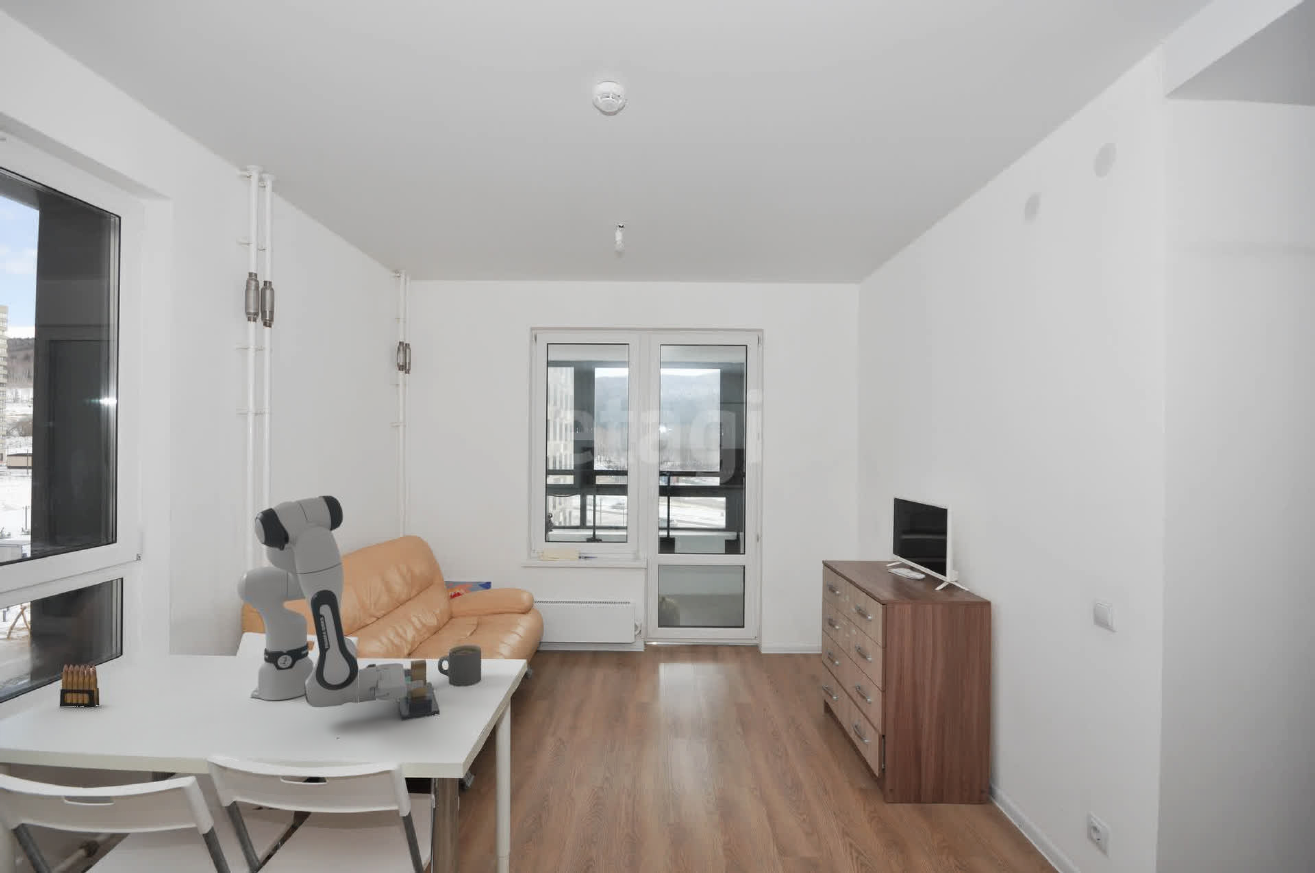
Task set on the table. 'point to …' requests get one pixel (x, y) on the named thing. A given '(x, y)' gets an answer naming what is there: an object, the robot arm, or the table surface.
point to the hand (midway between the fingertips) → (421, 677)
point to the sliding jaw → (410, 690)
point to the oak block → (418, 676)
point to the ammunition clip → (79, 687)
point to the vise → (419, 705)
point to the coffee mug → (462, 665)
